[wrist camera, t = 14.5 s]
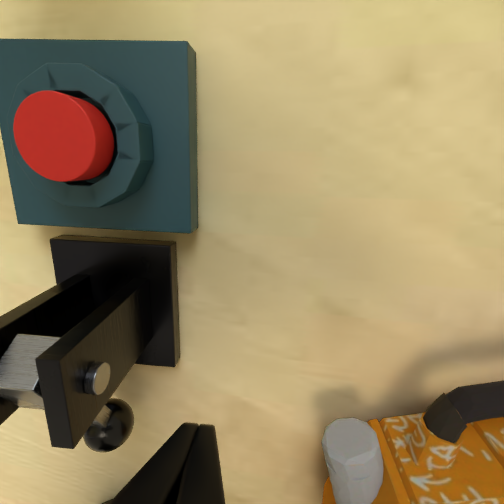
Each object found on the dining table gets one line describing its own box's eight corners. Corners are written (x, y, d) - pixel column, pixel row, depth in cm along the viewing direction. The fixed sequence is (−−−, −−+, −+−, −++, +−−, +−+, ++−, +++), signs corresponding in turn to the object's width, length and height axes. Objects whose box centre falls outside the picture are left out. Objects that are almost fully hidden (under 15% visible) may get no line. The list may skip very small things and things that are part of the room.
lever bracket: (180, 357, 23) (112, 493, 14) (78, 348, 23) (-56, 474, 14) (176, 241, 20) (89, 309, 11) (61, 234, 21) (-116, 294, 11)
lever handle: (145, 408, 23) (130, 459, 21) (104, 404, 23) (85, 454, 21) (77, 329, 14) (38, 403, 12) (12, 324, 14) (-38, 395, 12)
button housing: (198, 227, 20) (182, 241, 17) (38, 219, 21) (-9, 230, 17) (195, 52, 17) (176, 25, 14) (10, 49, 18) (-52, 23, 14)
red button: (118, 181, 16) (99, 183, 15) (46, 178, 17) (20, 179, 15) (110, 98, 15) (90, 90, 13) (34, 96, 15) (4, 88, 14)
